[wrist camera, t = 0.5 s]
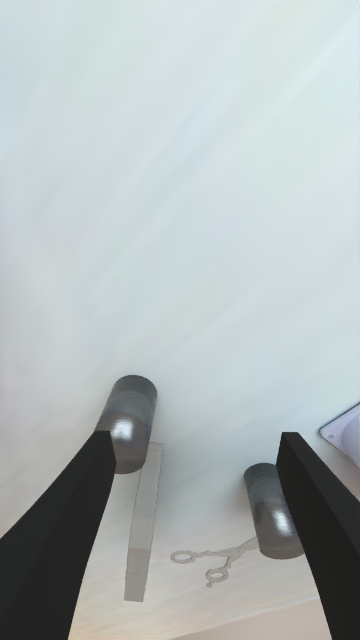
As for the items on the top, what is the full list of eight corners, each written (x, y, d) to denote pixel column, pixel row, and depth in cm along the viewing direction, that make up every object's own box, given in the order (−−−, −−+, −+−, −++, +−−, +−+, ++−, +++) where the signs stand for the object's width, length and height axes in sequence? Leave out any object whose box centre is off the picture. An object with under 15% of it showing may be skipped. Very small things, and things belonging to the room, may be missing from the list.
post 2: (289, 474, 25) (318, 547, 19) (261, 491, 26) (280, 564, 21) (264, 457, 24) (286, 529, 18) (236, 476, 25) (249, 547, 20)
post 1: (166, 391, 21) (158, 453, 15) (140, 416, 22) (124, 481, 17) (129, 367, 20) (107, 423, 14) (104, 394, 21) (75, 456, 16)
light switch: (139, 509, 29) (123, 606, 21) (146, 441, 24) (128, 538, 17) (153, 510, 29) (142, 609, 21) (163, 443, 24) (152, 541, 17)
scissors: (159, 561, 33) (277, 509, 27) (160, 554, 34) (275, 501, 27) (209, 587, 36) (327, 546, 30) (208, 580, 37) (323, 538, 30)
